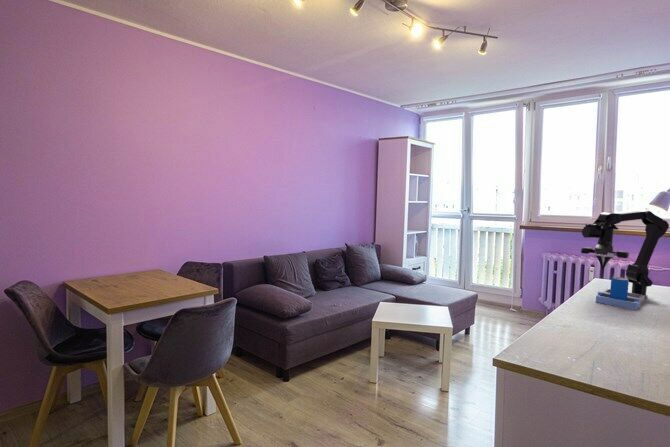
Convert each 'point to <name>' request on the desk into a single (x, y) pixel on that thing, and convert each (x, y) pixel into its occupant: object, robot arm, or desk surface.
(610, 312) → the desk surface
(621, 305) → the slot holder
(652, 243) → the robot arm
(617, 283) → the beverage can
